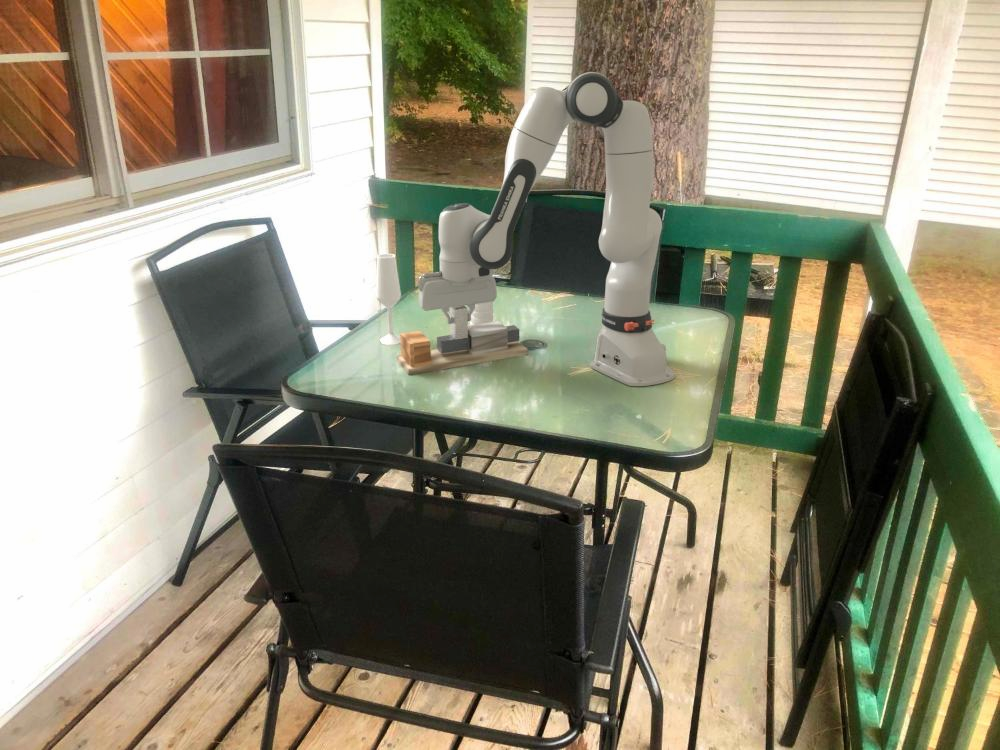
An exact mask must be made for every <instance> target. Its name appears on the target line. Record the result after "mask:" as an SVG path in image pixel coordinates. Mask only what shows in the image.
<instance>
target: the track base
mask: <svg viewBox="0 0 1000 750" xmlns="http://www.w3.org/2000/svg"><path fill="white" fill-rule="evenodd" d="M468 334H469V335H470V336H471V349H468V350H462V351H455V352H449V353H443V354H441V353H440V352H439V351H438V350H437V348H435V349H432V348H431V340H430V339H429V338H428V337H427V336H426V335H425V334H424V333H423V332H421V330H416V331H409V332H405V333H404V332H403V333H402V332H401V333H399V337H400V340H401V343H400V354H398V355H396V361H397V363H398V364H399V365H400V366H401V367H402V369H403V368H404V369H403V370H404V371H405V372H406V374H411V375H415V374H421V373H429V372H433V371H438V370H445V369H449V368H450V369H451V368H456V367H463V366H468V365H474V364H480V363H484V362H485V363H487V362H492V361H497V360H503V359H509V358H516V357H521V356H522V357H523V356H527V354H529V349H528V348H527V347H526V346H524V345H523V344H522V343H520V341H517V342H511V343H508V328H507V327H506V325H504V324H503V323H501V321H493V322H490V323H483V324H476V325H470V324H469V325H468Z"/></svg>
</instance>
